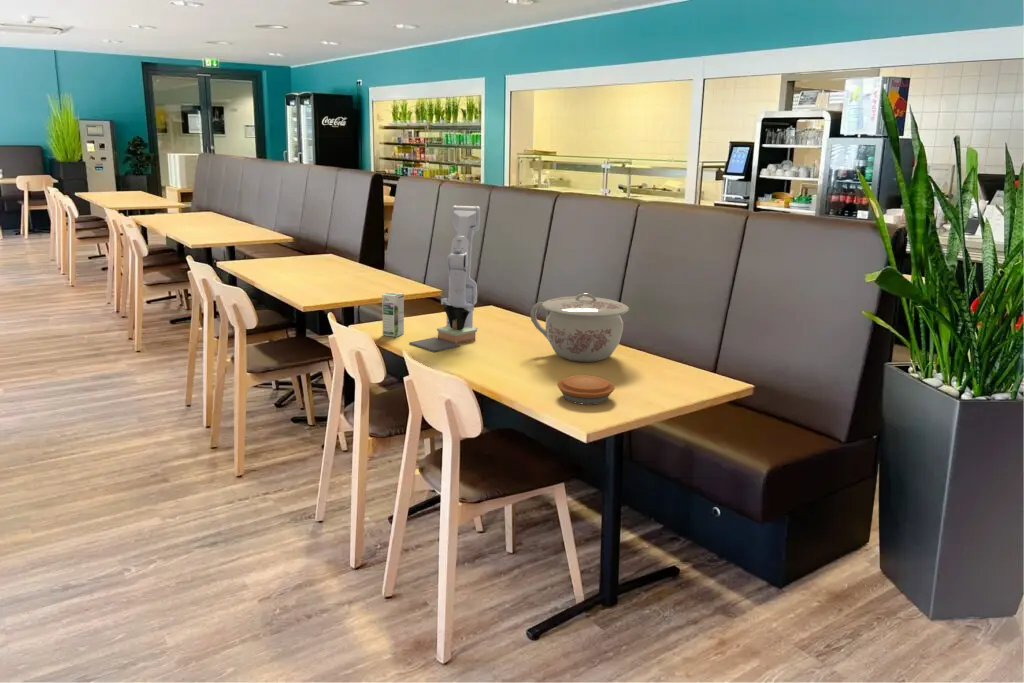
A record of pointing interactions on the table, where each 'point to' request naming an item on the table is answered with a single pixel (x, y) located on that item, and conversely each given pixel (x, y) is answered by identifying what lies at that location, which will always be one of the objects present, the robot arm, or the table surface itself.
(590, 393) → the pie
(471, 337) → the dish
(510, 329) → the table surface
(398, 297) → the syrup box
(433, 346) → the mat
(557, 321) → the chamber pot
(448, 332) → the lid
